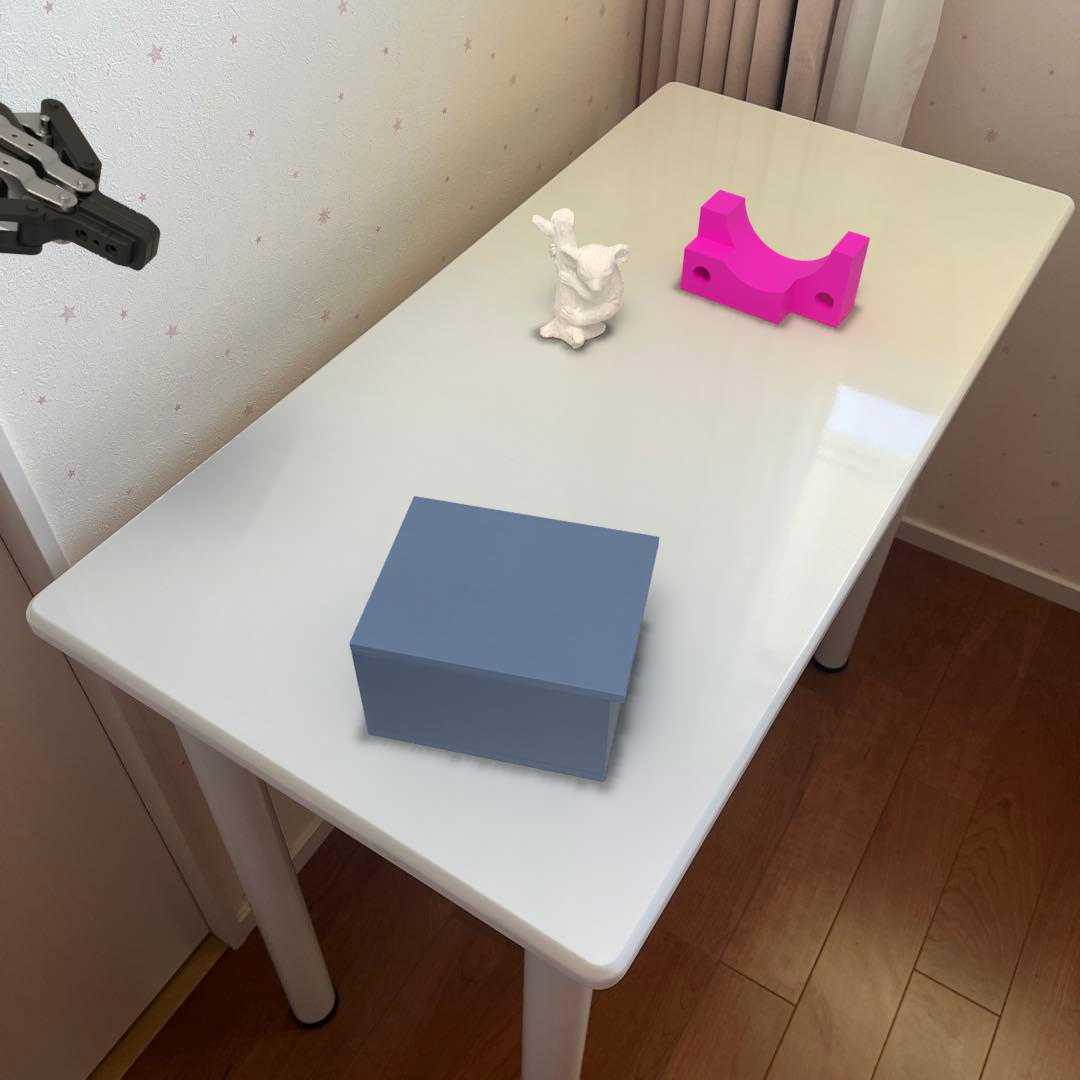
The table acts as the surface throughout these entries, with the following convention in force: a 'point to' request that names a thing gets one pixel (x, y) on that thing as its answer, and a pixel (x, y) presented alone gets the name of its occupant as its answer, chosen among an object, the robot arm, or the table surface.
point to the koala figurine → (581, 281)
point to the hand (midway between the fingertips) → (151, 250)
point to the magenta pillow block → (768, 269)
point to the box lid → (511, 598)
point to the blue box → (487, 716)
